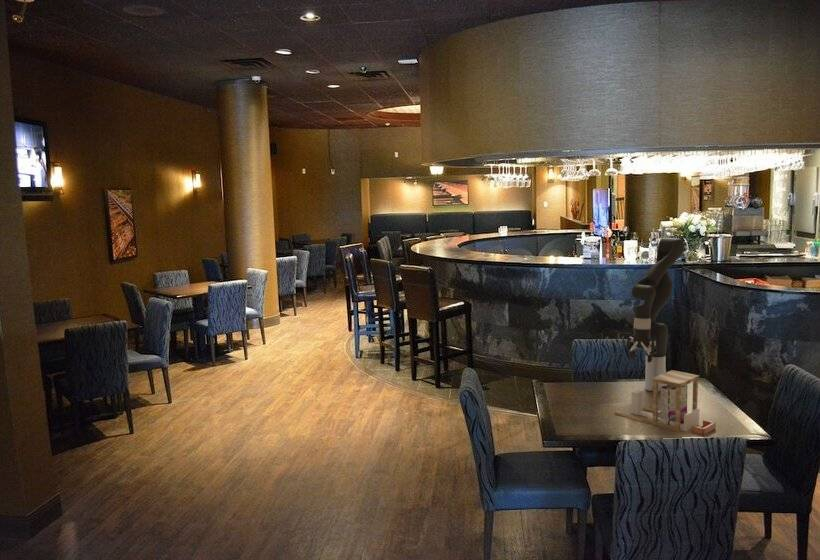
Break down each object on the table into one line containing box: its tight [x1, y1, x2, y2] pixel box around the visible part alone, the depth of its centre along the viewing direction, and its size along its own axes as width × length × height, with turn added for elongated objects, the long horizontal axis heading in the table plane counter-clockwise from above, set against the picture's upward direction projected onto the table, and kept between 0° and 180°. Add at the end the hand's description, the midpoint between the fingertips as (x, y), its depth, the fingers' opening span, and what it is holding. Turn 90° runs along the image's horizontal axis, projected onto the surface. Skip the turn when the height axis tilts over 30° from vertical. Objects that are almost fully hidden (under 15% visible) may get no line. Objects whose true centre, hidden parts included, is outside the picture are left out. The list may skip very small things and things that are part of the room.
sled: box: [630, 389, 701, 432], centre depth 290 cm, size 11×27×10 cm, turn 40°
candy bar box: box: [659, 384, 688, 425], centre depth 286 cm, size 11×5×16 cm, turn 118°
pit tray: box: [691, 419, 717, 437], centre depth 277 cm, size 10×5×3 cm, turn 130°
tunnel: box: [614, 369, 700, 432], centre depth 292 cm, size 16×30×20 cm, turn 40°
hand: (641, 360), depth 321 cm, fingers open, 8 cm apart
